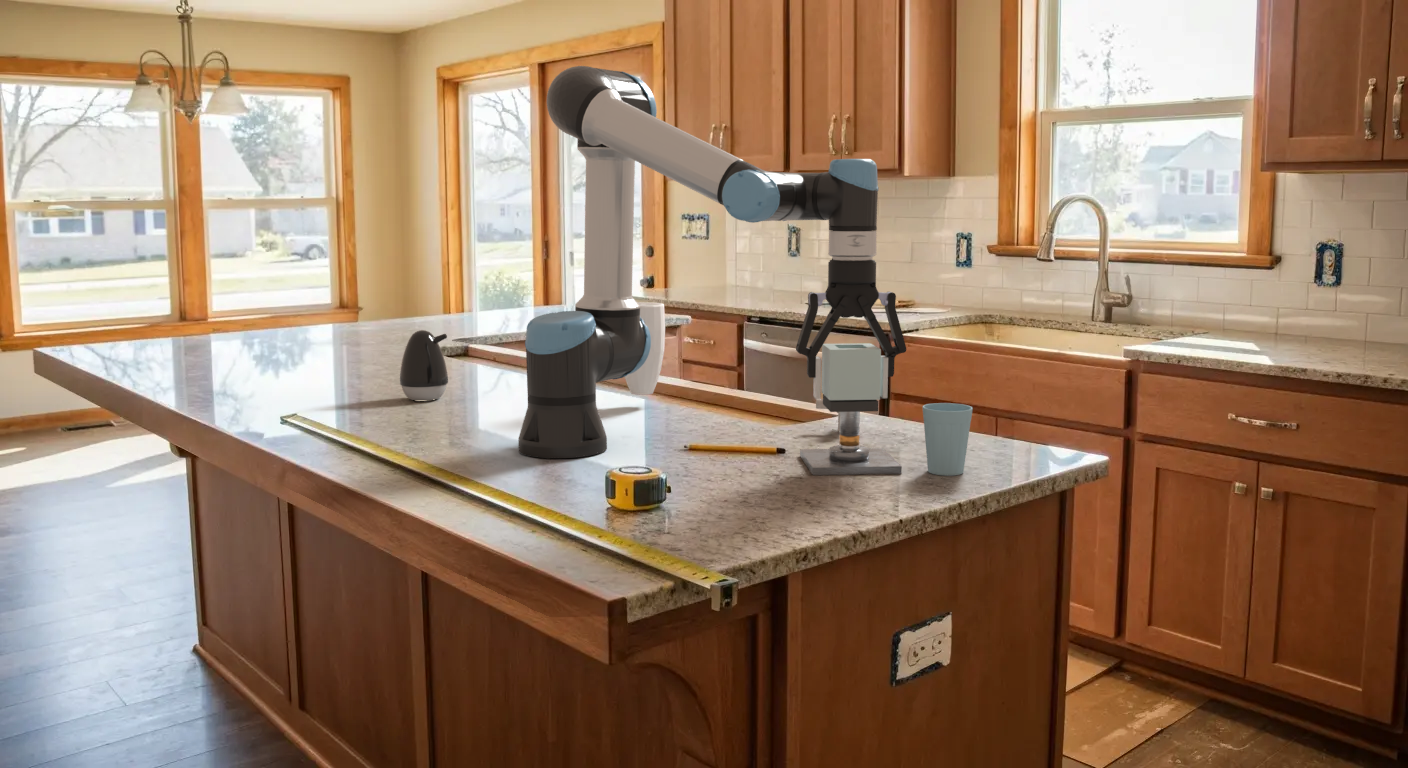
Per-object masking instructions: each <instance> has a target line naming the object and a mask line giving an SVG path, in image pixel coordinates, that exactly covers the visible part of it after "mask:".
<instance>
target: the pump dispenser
mask: <svg viewBox="0 0 1408 768" xmlns="http://www.w3.org/2000/svg"><path fill="white" fill-rule="evenodd" d="M447 338H448V335H447V333H443V334H440V335H437V336H434V335H433V334H432V332H430V331H428V330H426V329H421V330H420V329H419V330H417V331H415V332H413V333H412V335H411V336H410V337H409V339H408V341H407V344H406V346H405V348H404V352H403V355H402V360H401V363H400V364H401V366H400V372H399V384H400V386H401V388H402V391H403V393H404V395H405V396H406V397H407V398H408V399H410V400H412V401H413V400H433V399H437V400H439V399H440V398H441V397H443V395H444V394H445V392H446V390H447V384H449V376H448V375H449V374H448V369H447V365H446V359H445V357H444V354H443V352H442V349H441V347H440V346H441V345H439V343H440V342H442V341H444V340H445V339H447Z"/></svg>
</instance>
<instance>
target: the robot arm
mask: <svg viewBox="0 0 1408 768" xmlns="http://www.w3.org/2000/svg"><path fill="white" fill-rule="evenodd" d="M546 108H547V112H548V115H549V117H550V119H551V121H552V123H553V124H554V125H555V127H557V128H558V129H559V130H560V131H562V132H564V134H566V135H569V136H571V137H572V138H573V137H574V138H576V139H577V149H576V150H577V151H578V152H579V153H581V155H582V156H583V157H584V158H585V198H584V200H585V205H584V207H585V208H584V212H585V213H584V214H585V215H584V216H585V217H584V260H583V263H584V265H583V266H584V267H583V268H584V270H583V271H584V273H583V275H584V278H583V280H584V282H583V295H582V297H581V298H580V299H579V300H578V301H577V302H576V303H575V305H574V306H575V307H574V310H564V311H558V312H549V313H545V314H541V315H538V316H535V317H533V318H532V319H531V320H529V322H527V323H528V324H527V325H526V333H525V334H526V335H525V336H526V337H525V343H524V346H525V354H526V356H525V357H526V359H525V360H526V383H527V384H526V387H527V408H526V411H525V414H524V415H525V416H524V417H523V418H524V419H523V422H522V426H521V428H520V432H519V436H518V440H517V441H518V452H519V453H520V454H521V453H522V455H524V456H527V455H528V457H532V458H533V457H534V458H541V459H573V458H585V457H589V456H595V455H598V454H602V453H604V452H605V451H607V449H608V440H607V439H608V438H607V433H606V431H605V428H604V425H603V422H602V418H601V416H600V412H599V410H598V406H597V400H596V399H597V396H596V395H597V386H596V383H601V382H605V381H611V380H619V379H622V378H625V376H627V375H629V374H631V373H633V372H635V371H637V370H638V369H639V368H640V367H641V366H642V365H643V364H644V363H645V361H646V359H647V357H648V355H649V352H650V347H651V336H650V331H649V329H648V326H646V325H645V324H644V323H645V322H644V320H643V319H642V318H641V317H640V305H639V304H638V303H637V302H638V301H637V300H636V299H635V298H634V297H633V265H634V264H633V263H634V261H633V260H634V259H633V256H634V255H633V253H634V211H635V175H636V174H635V173H636V172H635V171H636V170H635V169H636V168H635V167H636V165H635V164H636V162H638V164H641V165H643V166H645V167H647V168H649V169H651V170H652V171H655V172H657V173H659V174H661V175H662V176H665V177H666V178H669V179H671V180H673V181H675V182H677V183H679V184H680V185H682V186H684V187H687V188H688V189H690V190H692V191H694V192H696V193H698V194H700V195H703V196H704V197H706V198H708V199H710V200H712V201H713V202H716V203H718V204H720V205H721V206H724V208H725V209H726V211H727V212H728V214H729V215H730V216H731V217H732V218H734V219H736V220H739V221H742V222H746V223H751V224H753V223H761V222H772V221H775V222H777V221H778V222H781V221H782V222H785V221H828V254H827V255H828V256H830V257H831V259H830V260H829V261H828V269H827V271H828V272H827V276H828V277H827V289H826V290H825V291H824V292H812V291H811V292H809V293H808V294H807V300H808V301H807V304H808V306H807V310H806V313H805V317H804V320H803V322H802V323H803V324H802V326H801V329H800V332H799V336H798V339H797V343H796V346H795V351H796V352H797V353H798V354H800V355H802V356H806V374H807V377H808V378H810V379H811V378H813V379H812V380H813V386H812V387H813V388H812V390H813V392H812V393H813V398H814V399H815V400H816V399H822V398H821V393H822V357H820V356H818V354H819V352H820V350H822V345H823V344H825V341H826V340H827V338H828V336H829V335H830V333H831V332H832V330H833V328H834V326H835V325H836V323H837V322H838V321H839V320H840V318H845V319H846V318H851V317H853V318H864V320H865V321H866V322H867V324H868V326H869V328H870V330H871V331H872V333H873V335H874V337H875V338H876V339H877V340H876V341H877V342H878V343H879V346H880V347H881V350H882V351H883V353H884V355H881V373H880V398H881V399H888V389H889V388H888V385H889V377H890V378H891V377H894V375H895V358H896V356H897V355H900V354H904V353H906V352H907V345H906V342H905V337H904V336H903V335H904V334H903V331H902V328H901V323H900V320H899V316H898V313H897V310H896V301H897V296H896V293H894V292H892V291H886V292H882V291H878V289H877V261H876V260H875V259H873V257H875V256H876V255H877V237H878V235H877V232H878V231H877V230H878V227H877V226H878V224H877V221H878V219H877V218H878V216H877V215H878V199H879V198H878V196H879V194H878V193H879V186H878V185H879V183H878V166H877V163H876V161H874V160H873V159H871V158H840V159H838V158H837V159H836V158H835V159H832V160H831V161H830V162H829V168H828V171H824V172H786V171H785V172H782V171H780V172H779V171H770V170H769V171H768V170H764V169H761V168H760V167H758V166H756V165H754V164H752V163H749V162H747V161H745V160H744V159H741V158H740V157H737V156H736V155H733V154H732V153H730V152H727V151H725V150H724V149H721V148H719V147H718V146H716V145H713V144H711V143H709V142H707V141H705V140H703V139H701V138H698V137H696V136H695V135H692V134H690V133H688V132H687V131H684V130H682V129H680V128H679V127H676V126H674V125H672V124H670V123H669V122H666V121H664V120H662V119H660V118H657V111H658V109H657V103H656V99H655V96H654V94H653V92H652V90H651V88H650V87H649V86H648V85H647V83H646V82H644V81H643V80H642V79H640V77H638V76H635V75H633V74H629V73H628V72H625V71H620V70H613V69H605V68H597V67H592V66H587V65H578V66H577V65H576V66H572V67H569V68H568V67H567V68H566V69H564V70H563V71H561V72H560V73H558V74H557V75H556V76H555V78H554V79H553V80H552V81H551V83H550V85H549V88H548V91H547V95H546ZM878 299H879V301H880V304H881V305H882V306H884V310H885V315H886V319H887V321H888V322H887V323H888V325H889V328H890V333H891V337H892V340H893V343H894V346H893V345H892V344H891V343H890V341H889V339H888V337H887V336H886V333H885V332H884V330H883V328H882V327H881V324H880V323H879V321H878V320H877V317H876V314H875V313H874V311H873V310H872V308H873V306H874V305H875V303H877V301H878ZM824 301H826V302H827V303H828V305H829V306H830V307H831V308H830V311H829V313H828V314H827V317H826V318H825V320H824V321H823V324H822V325H821V327H820V329H818V332H817V334H816V336H815V337H814V339H813V340H812V342H811V344H810V345H809V347H808V344H809V340H810V337H811V333H812V330H813V327H814V324H815V321H816V318H817V315H818V311H819V307H821V306H822V305H823V302H824Z"/></svg>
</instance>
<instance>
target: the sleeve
mask: <svg viewBox="0 0 1408 768" xmlns="http://www.w3.org/2000/svg"><path fill="white" fill-rule="evenodd" d="M881 356H882V348H880V347H878V346H876V345H875V344H873V343H871V342H867V343H864V342H862V343H861V342H860V343H855V342H854V343H824V344H823V345H822V347H821V393H822V395H823V394H824V395H825V396H826V397H827V398H828V399H829V400H877V401H880V400H881V397H880V373H881Z"/></svg>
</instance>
